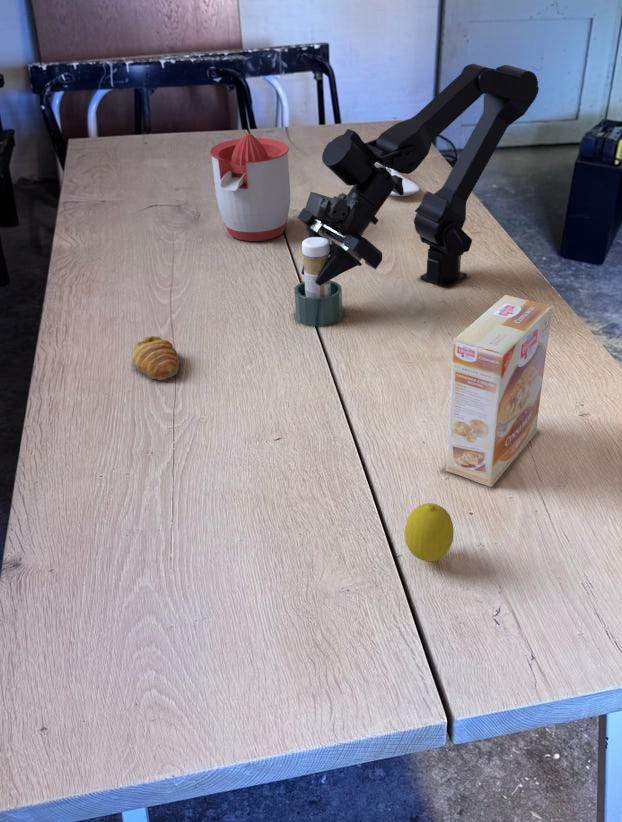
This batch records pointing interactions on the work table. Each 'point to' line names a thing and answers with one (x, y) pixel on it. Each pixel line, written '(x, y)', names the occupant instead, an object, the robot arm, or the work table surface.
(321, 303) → the cup
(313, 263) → the sprinkles bottle
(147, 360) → the pastry
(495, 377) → the coffeecake box
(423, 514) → the lemon
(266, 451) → the work table surface
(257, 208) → the citrus juicer
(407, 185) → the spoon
